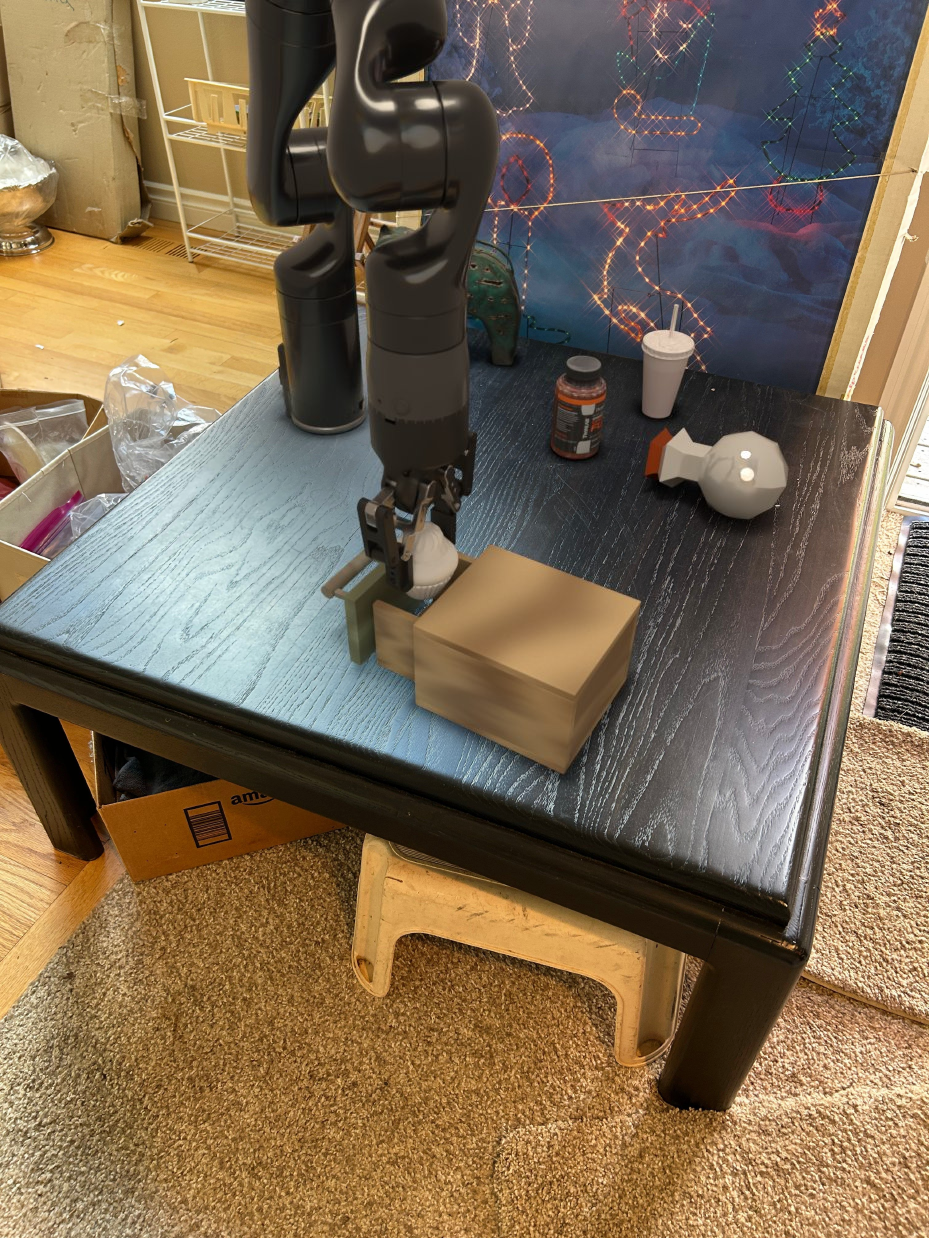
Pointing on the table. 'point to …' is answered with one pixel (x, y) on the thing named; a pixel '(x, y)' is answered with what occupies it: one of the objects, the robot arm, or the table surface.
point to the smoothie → (664, 368)
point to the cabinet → (524, 655)
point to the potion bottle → (723, 470)
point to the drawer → (381, 614)
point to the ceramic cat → (486, 294)
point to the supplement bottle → (578, 409)
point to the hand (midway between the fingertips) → (422, 565)
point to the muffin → (431, 562)
